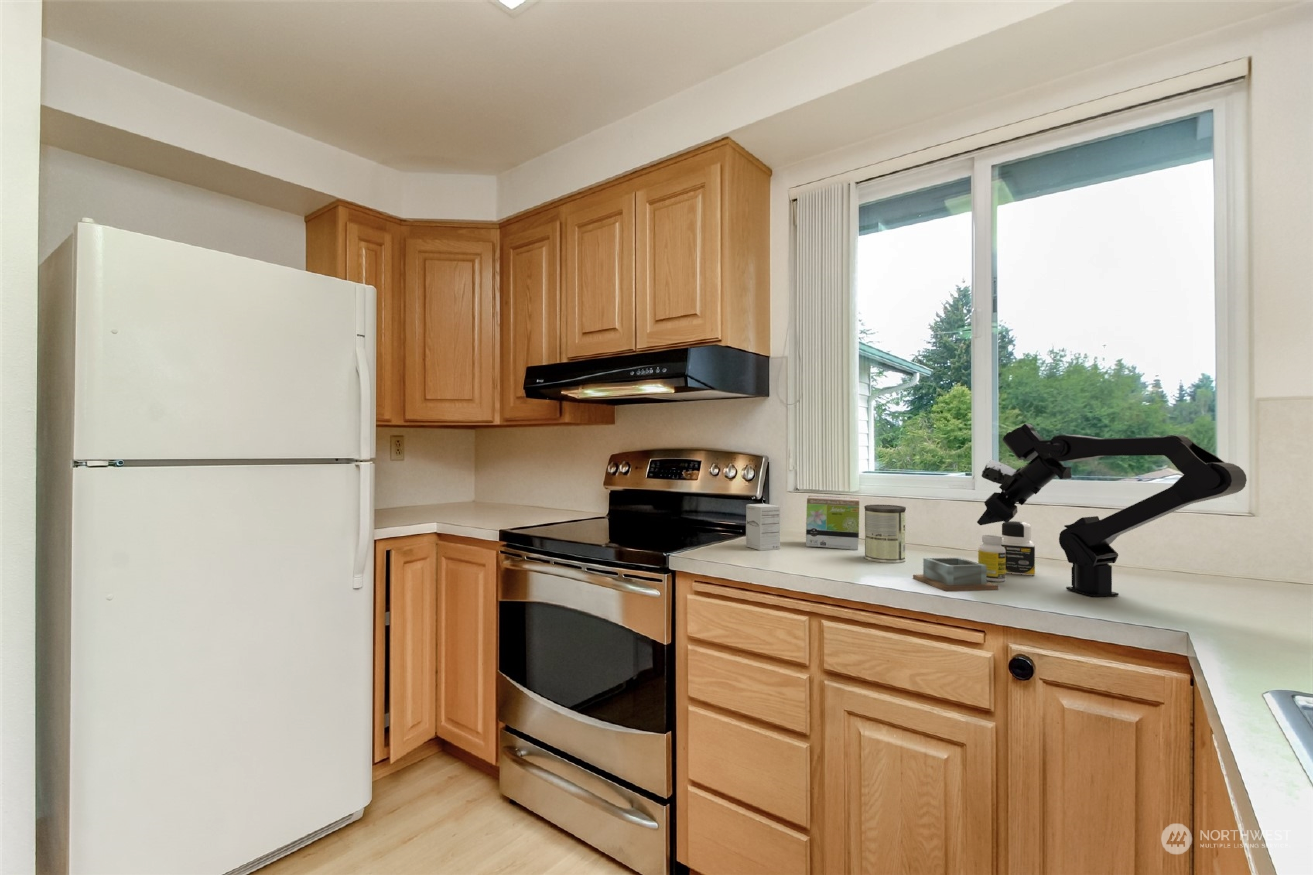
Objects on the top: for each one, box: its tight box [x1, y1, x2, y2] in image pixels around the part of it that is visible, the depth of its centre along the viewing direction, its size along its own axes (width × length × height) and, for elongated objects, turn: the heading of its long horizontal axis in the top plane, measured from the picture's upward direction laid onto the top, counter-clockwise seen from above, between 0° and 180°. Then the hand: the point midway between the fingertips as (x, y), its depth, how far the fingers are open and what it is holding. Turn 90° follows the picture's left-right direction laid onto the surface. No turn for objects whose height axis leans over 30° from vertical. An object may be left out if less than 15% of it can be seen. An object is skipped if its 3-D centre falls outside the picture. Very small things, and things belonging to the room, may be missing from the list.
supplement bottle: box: [977, 534, 1006, 583], centre depth 135 cm, size 5×5×10 cm
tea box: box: [805, 495, 860, 551], centre depth 178 cm, size 15×10×15 cm, turn 73°
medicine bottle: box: [1001, 520, 1036, 576], centre depth 144 cm, size 7×7×12 cm
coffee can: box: [863, 504, 907, 564], centre depth 158 cm, size 10×10×14 cm
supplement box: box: [745, 503, 781, 551], centre depth 174 cm, size 7×7×13 cm
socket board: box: [912, 557, 999, 592], centre depth 131 cm, size 12×12×5 cm
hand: (984, 516), depth 144 cm, fingers open, 9 cm apart
